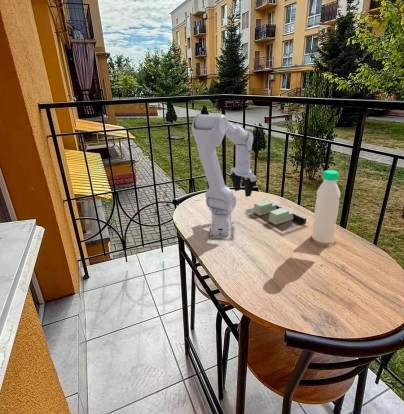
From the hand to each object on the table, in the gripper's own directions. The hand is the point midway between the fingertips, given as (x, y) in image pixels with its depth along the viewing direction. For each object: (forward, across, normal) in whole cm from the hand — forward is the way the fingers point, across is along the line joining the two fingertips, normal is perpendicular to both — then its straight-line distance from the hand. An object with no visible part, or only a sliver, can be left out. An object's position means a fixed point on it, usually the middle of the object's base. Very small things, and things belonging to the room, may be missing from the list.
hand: (242, 193), depth 116 cm
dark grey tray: (+9, -11, -7) cm, 16 cm away
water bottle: (+10, -33, -10) cm, 36 cm away
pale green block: (+8, -15, -6) cm, 18 cm away
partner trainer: (+8, -6, -6) cm, 12 cm away
